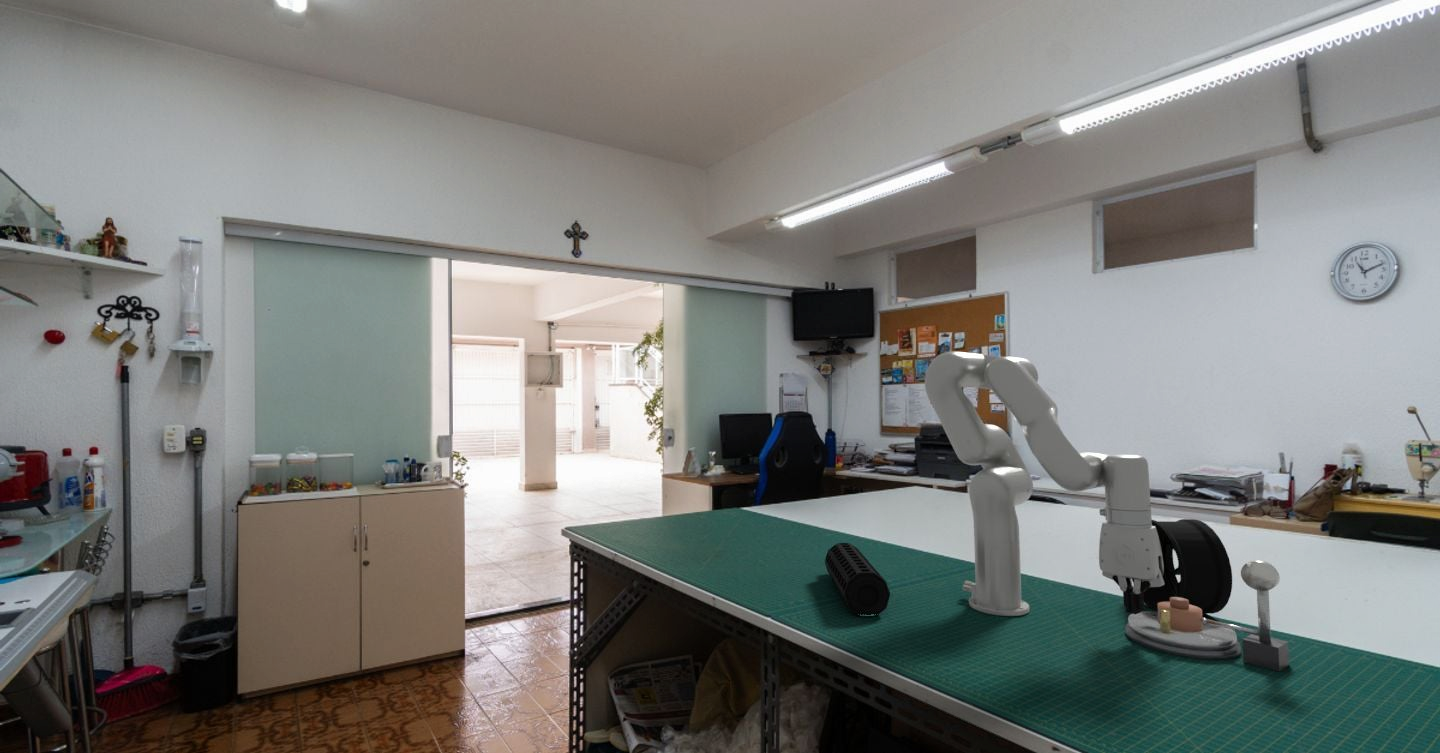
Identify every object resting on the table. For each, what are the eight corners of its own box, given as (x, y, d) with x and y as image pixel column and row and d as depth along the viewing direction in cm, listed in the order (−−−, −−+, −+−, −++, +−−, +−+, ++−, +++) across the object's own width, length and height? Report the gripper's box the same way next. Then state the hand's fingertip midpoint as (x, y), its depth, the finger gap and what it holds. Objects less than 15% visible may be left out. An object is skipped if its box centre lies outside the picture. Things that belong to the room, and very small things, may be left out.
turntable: (1112, 629, 126) (1111, 601, 126) (1151, 613, 135) (1150, 586, 135) (1216, 657, 111) (1214, 625, 112) (1251, 636, 121) (1249, 607, 121)
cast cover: (1152, 624, 124) (1151, 598, 124) (1166, 617, 128) (1165, 591, 128) (1194, 634, 118) (1193, 607, 119) (1208, 626, 123) (1207, 600, 123)
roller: (816, 566, 176) (827, 532, 177) (850, 577, 176) (861, 542, 176) (839, 611, 138) (853, 566, 139) (883, 625, 138) (896, 580, 138)
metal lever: (1196, 649, 119) (1192, 552, 120) (1207, 643, 122) (1203, 548, 122) (1279, 671, 109) (1274, 565, 110) (1289, 664, 112) (1284, 561, 113)
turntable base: (1108, 637, 126) (1108, 630, 126) (1150, 619, 136) (1149, 613, 136) (1218, 667, 111) (1218, 660, 111) (1256, 645, 121) (1255, 638, 121)
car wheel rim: (1234, 627, 131) (1230, 528, 131) (1182, 626, 131) (1178, 528, 132) (1173, 597, 151) (1169, 512, 151) (1128, 596, 151) (1125, 512, 152)
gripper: (1080, 515, 130) (1085, 606, 129) (1163, 524, 118) (1169, 626, 116) (1098, 511, 134) (1103, 600, 133) (1180, 520, 122) (1186, 618, 121)
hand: (1134, 611), depth 125 cm, fingers closed
